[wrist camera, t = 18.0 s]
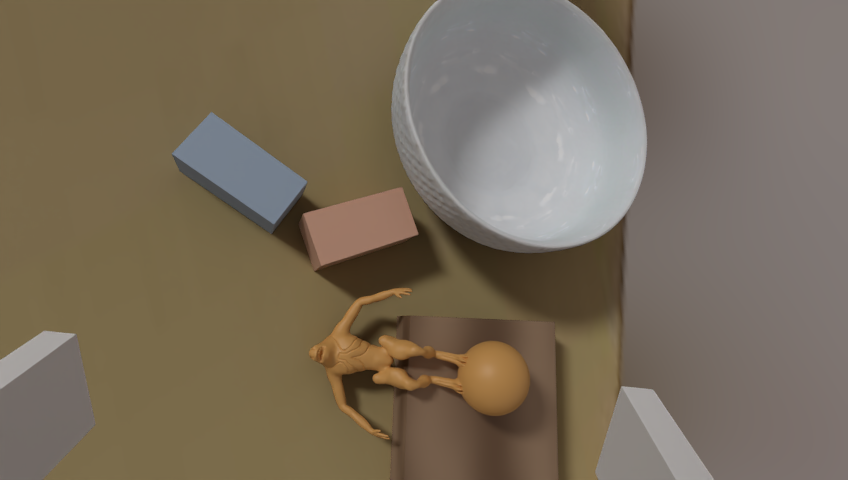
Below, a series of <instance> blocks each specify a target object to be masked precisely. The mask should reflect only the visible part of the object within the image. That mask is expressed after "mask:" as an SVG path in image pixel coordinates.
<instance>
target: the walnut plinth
mask: <svg viewBox="0 0 848 480" xmlns="http://www.w3.org/2000/svg"><path fill="white" fill-rule="evenodd" d="M396 339H400V340H408V341H411V342H413V343H415V344H417V345H418V346H420V347H421V348H424V347H425V346H431V347H433V348H434V350H436V351H443V352H448V353H453V354H465V353H466V352H467V351H468V350H469V349H471V348H472V347H473V346H475V345H477V344H479V343H482V342H486V341H499V342H503V343H506V344H508V345H510V346H512V347H513V348H514V349H516V350H517V351H518V352H519V353H520V354H521V355H522V357H523V358H524V360H525V362H526V364H527V366H528V369H529V373H530V387H529V391H528V394H527V396H526V398H525V400H524V402H523V403H522V404H521V405H520V406H519V407H518V408H517V409H516V410H514V411H513V412H511V413H508V414H506V415H502V416H489V415H485V414H482V413H480V412H478V411H476V410H475V409H473V408H472V407H471V406H470V405H469V404H468V403H467V402H466V401H465V399H464V398H463V396H462V395H461V394H459V393H457V392H456V391H455V390H453V389H451V388H448V387H444V386H440V385H436V384H432V383H431V384H430V385H429V386H428V387H426V388H418V389H415V390H412V391H409V390H405V389H399V388H397V387H394V403H393V426H392V448H391V471H390V480H558V442H557V399H556V355H555V322H543V321H520V320H497V319H474V318H451V317H428V316H397V335H396ZM395 367H396V368H401V369H404V370H405V371H406V372H407V374H408V376H409V377H410V378H412V379H414V380H417V379H418V378H419V377H420V376H421V375H428V376H439V377H444V378H450V379H456V378H457V376H458V368H459V367H458V366H457V365H456V364H454V363H451V362H448V361H444V360H440V359H437V358H435V357H432V358H430V359H427V358H424V357H423V356H413V357H409V358H408V359H405V360H398V359H395Z"/></svg>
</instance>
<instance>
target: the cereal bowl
mask: <svg viewBox="0 0 848 480" xmlns="http://www.w3.org/2000/svg"><path fill="white" fill-rule="evenodd" d="M393 85H394V86H393V92H392V108H391V111H392V126H393V132H394V138H395V142H396V146H397V150H398V153H399V155H400V158H401V162H402V163H403V166H404V169H405V170H406V173H407V176H408V177H409V178H410V181H411V183H412V184H413V185H414V188H415V190H416V191H417V192H418V194H419V195H420V196H421V197H422V198H423V200H424V202H425V203H426V204H427V205H428V206H429V208H430V209H432V210H433V211H434V213H435V214H436V215H437V216H439V217H440V219H441V220H443V221H444V222H445V223H446V224H447V225H449V226H451V227H452V228H453V229H454V230H456V231H458V232H459V233H460V234H462V235H464V236H466V237H467V238H469V239H472V240H473V241H476V242H477V243H480V244H482V245H486V246H489V247H491V248H494V249H499V250H503V251H509V252H517V253H543V252H552V251H559V250H564V249H569V248H573V247H577V246H581V245H584V244H586V243H589V242H591V241H593V240H595V239H597V238H599V237H601V236H602V235H604V234H606V233H607V232H609V231H610V230H611V229H612V228H613V227H614V226H616V225H617V224H618V223H619V222H620V220H621V219H622V218H623V217H624V216H625V214H626V213H627V211H628V210H629V208H630V207H631V205H632V203H633V202H634V200H635V197H636V195H637V193H638V190H639V188H640V185H641V182H642V178H643V174H644V169H645V164H646V154H647V131H646V122H645V116H644V111H643V107H642V103H641V99H640V95H639V93H638V90H637V87H636V84H635V82H634V79H633V77H632V75H631V73H630V71H629V69H628V67H627V65H626V63H625V61H624V59H623V58H622V56H621V55H620V53H619V51H618V50H617V48H616V47H615V45H614V44H613V43H612V41H611V40H610V39H609V37H608V36H607V35H606V34H605V32H604V31H603V30H602V29H601V28H600V27H599V26H598V25H597V24H596V23H595V22H594V21H593V20H592V19H591V18H590V17H589V16H588V15H586V14H585V13H584V12H583V11H582V10H580V9H579V8H578V7H577V6H575V5H574V4H572V3H571V2H569V1H568V0H437V1H436V2H435V3H434V4H433V5H432V6H431V7H430V8H429V9H428V10H427V11H426V12H425V14H424V16H423V17H422V18H421V20H420V21H419V22H418V23H417V25H416V27H415V29H414V31H413V32H412V34H411V36H410V38H409V41H408V42H407V44H406V46H405V49H404V52H403V53H402V55H401V58H400V63H399V65H398V67H397V70H396V76H395V80H394V82H393Z"/></svg>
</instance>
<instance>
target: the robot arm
mask: <svg viewBox="0 0 848 480" xmlns="http://www.w3.org/2000/svg"><path fill="white" fill-rule="evenodd" d="M95 425H96V424H95V420H94V415H93V410H92V406H91V401H90V396H89V391H88V387H87V382H86V377H85V373H84V368H83V363H82V358H81V354H80V349H79V344H78V340H77V335H76V334H71V333H60V332H50V331H43V332H42V333H40V334H39V335H37V336H36V337H34V338H33V339H31V340H30V341H28V342H27V343H25V344H24V345H22V346H21V347H19V348H18V349H16V350H15V351H13V352H12V353H10V354H9V355H7V356H6V357H4V358H3V359H1V360H0V480H42V479H43V478H44V477H45V476H46V475H47V474H48V473H49V472H50V471H51V470H52V469H53V468H54V467H55V466H56V465H57V464H58V463H59V462H60V461H61V460H62V459H63V458H64V457H65V456H66V455H67V454H68V453H69V451H70V450H71V449H72V448H73V447H74V446H75V445H76V444H77V443H78V442H79V441H80V440H81V439H82V438H83V437H84V436H85V435H86V434H87V433H88V432H89V431H90V430H91V429H92V428H93V427H94V426H95ZM595 472H596V475H597V478H598V480H714V479H713V477H712V476H711V474H710V473H709V472H708V470H707V469H706V467H705V466H704V464H703V463H702V461H701V460H700V458H699V457H698V455H697V454H696V452H695V451H694V449H693V448H692V446H691V445H690V443H689V442H688V440H687V439H686V437H685V436H684V434H683V433H682V432H681V430H680V429H679V427H678V426H677V424H676V423H675V421H674V420H673V418H672V417H671V415H670V414H669V412H668V411H667V409H666V408H665V406H664V405H663V404H662V402H661V400H660V399H659V398H658V396H657V395H656V393H655V392H654V390H653V389H643V388H632V387H623V386H621V390H620V393H619V396H618V399H617V403H616V406H615V409H614V412H613V416H612V419H611V422H610V425H609V429H608V432H607V435H606V439H605V442H604V445H603V448H602V452H601V455H600V458H599V461H598V465H597V468H596V471H595Z"/></svg>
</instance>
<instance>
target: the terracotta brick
mask: <svg viewBox="0 0 848 480" xmlns="http://www.w3.org/2000/svg"><path fill="white" fill-rule="evenodd" d="M298 225H299V228H300V231H301V234H302V237H303V240H304V243H305V246H306V249H307V252H308V255H309V258H310V261H311V264H312V266H313V269H314V271H317V270H320V269H323V268H326V267H329V266H332V265H335V264H338V263H341V262H344V261H347V260H350V259H354V258H357V257H360V256H363V255H366V254H369V253H372V252H375V251H378V250H381V249H384V248H387V247H390V246H394V245H397V244H400V243H403V242H405V241H407V240H409V239H411V238H413V237H415V236H416V235H418V231H417V228H416V225H415V222H414V220H413V217H412V214H411V211H410V208H409V205H408V203H407V200H406V197H405V194H404V191H403V188H402V187H400V188H396V189H392V190H389V191H385V192H381V193H378V194H374V195H370V196H366V197H363V198H359V199H355V200H352V201H348V202H344V203H341V204H337V205H333V206H329V207H326V208H322V209H318V210H315V211H311V212H307V213H303V215H302V217H301V219H300V221H299V223H298Z"/></svg>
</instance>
